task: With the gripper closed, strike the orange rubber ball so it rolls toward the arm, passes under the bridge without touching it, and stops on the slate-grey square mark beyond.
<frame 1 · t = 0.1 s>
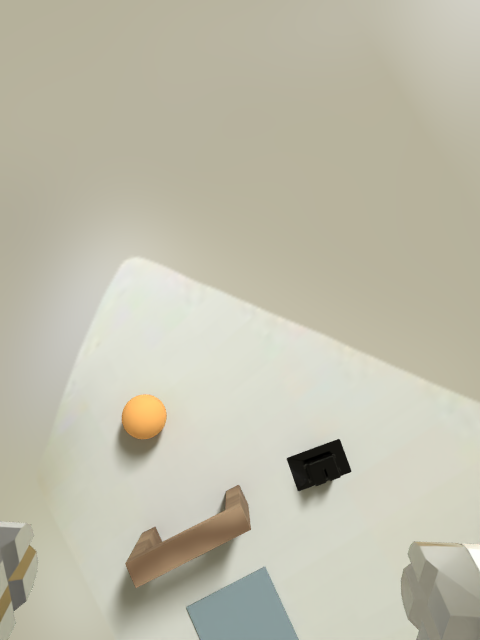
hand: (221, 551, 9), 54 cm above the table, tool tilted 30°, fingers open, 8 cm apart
ball: (144, 416, 60), on the table
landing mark: (244, 628, 60), on the table
bridge: (195, 518, 61), on the table
black blocky piece: (317, 463, 63), on the table
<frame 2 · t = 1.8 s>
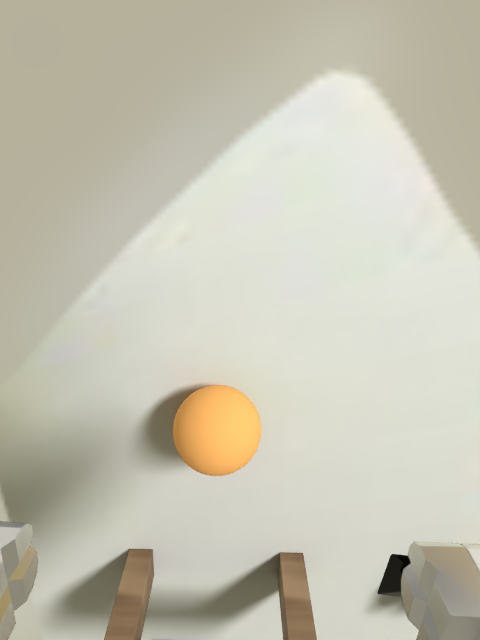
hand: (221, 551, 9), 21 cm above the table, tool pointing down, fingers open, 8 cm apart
ball: (217, 429, 30), on the table
bridge: (216, 564, 38), on the table
black blocky piece: (425, 570, 40), on the table
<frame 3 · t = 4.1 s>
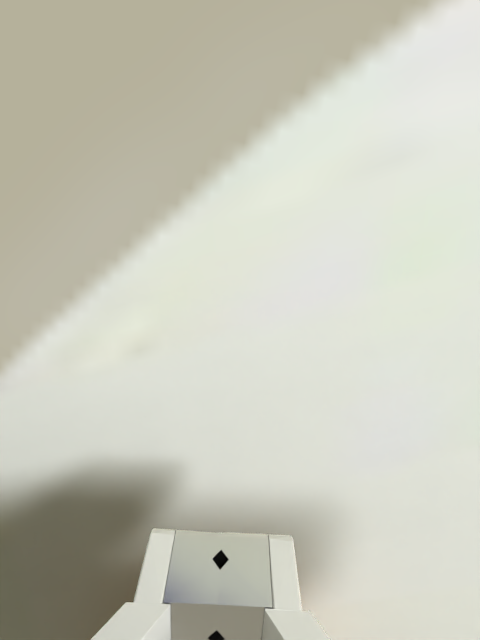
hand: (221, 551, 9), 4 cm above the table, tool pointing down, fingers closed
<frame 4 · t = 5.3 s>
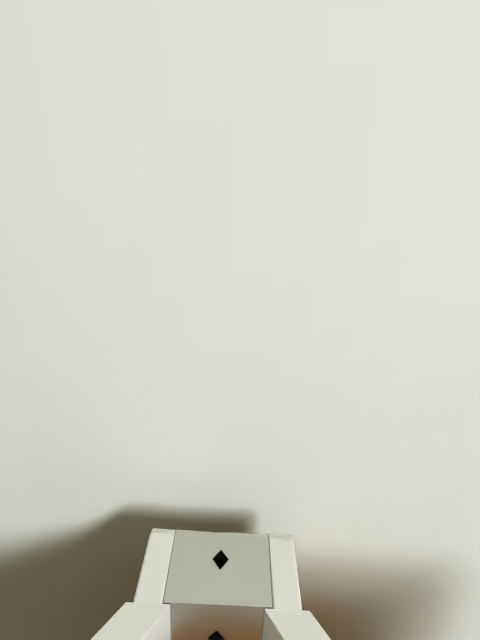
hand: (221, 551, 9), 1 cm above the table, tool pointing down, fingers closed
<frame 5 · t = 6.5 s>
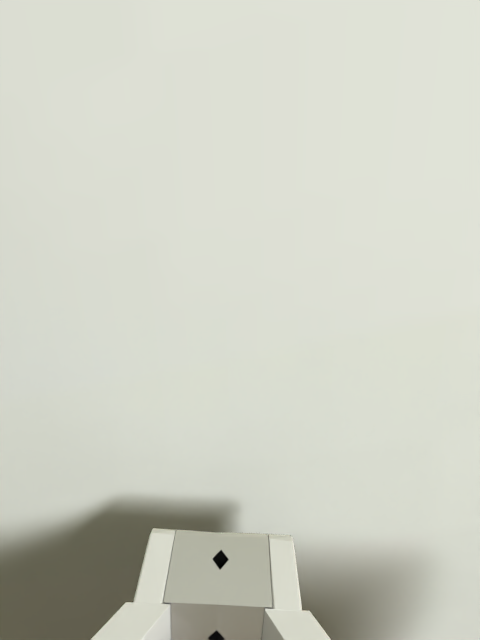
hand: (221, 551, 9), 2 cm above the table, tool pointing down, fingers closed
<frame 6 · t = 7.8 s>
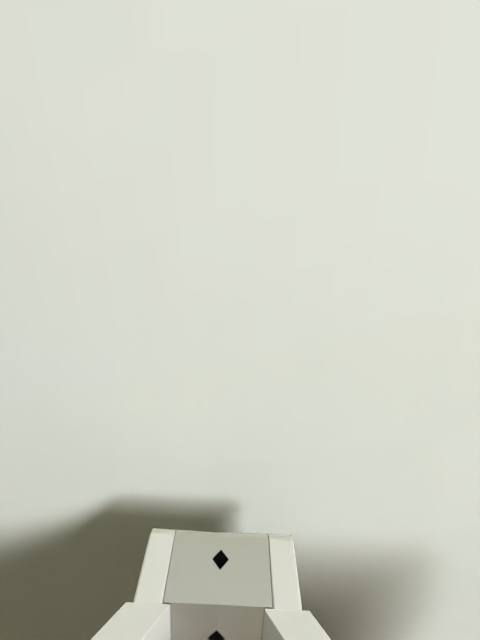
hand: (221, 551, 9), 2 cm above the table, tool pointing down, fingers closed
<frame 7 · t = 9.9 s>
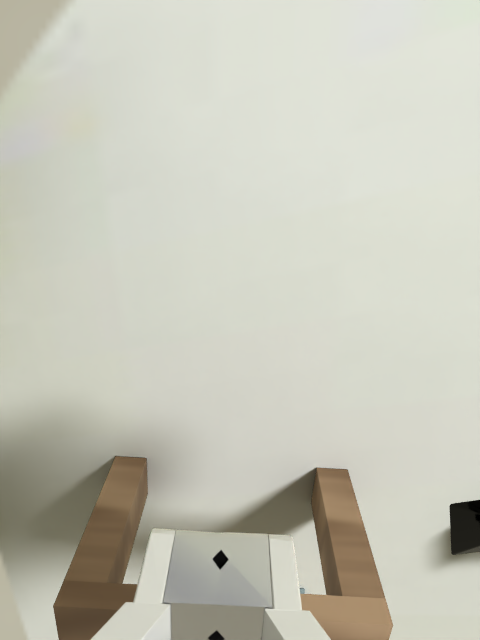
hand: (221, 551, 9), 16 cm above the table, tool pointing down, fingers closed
bridge: (230, 480, 29), on the table
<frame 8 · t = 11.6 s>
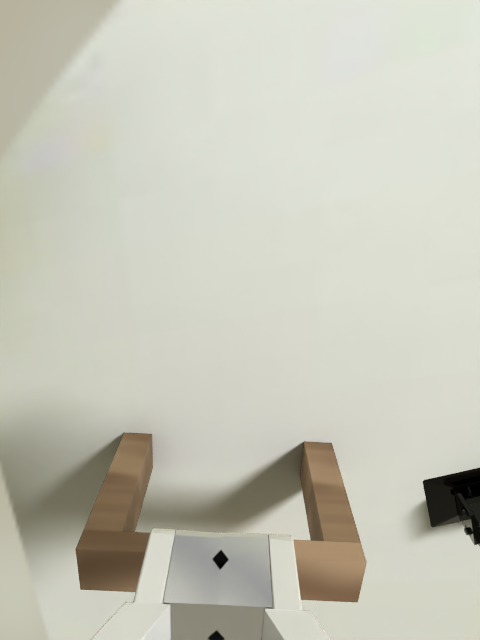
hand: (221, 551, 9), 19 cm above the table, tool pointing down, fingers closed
bridge: (227, 454, 32), on the table
black blocky piece: (475, 485, 34), on the table
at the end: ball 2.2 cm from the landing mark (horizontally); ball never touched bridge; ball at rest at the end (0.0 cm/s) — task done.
